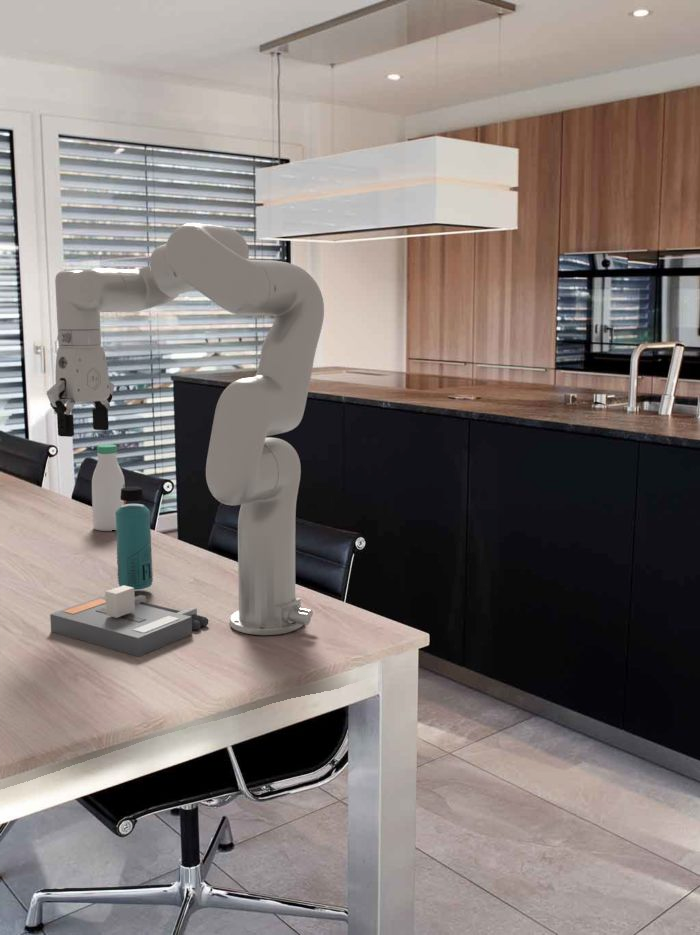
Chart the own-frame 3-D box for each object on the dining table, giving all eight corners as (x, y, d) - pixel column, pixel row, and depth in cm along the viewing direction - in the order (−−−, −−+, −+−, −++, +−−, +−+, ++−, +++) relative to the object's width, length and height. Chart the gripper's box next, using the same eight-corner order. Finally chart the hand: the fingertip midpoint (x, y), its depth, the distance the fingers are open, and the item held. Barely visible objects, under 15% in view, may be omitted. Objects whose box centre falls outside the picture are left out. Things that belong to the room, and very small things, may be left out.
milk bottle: (122, 532, 223) (119, 448, 220) (89, 531, 223) (85, 447, 220) (130, 524, 231) (127, 443, 227) (98, 524, 231) (95, 442, 227)
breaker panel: (192, 634, 155) (191, 616, 155) (138, 656, 145) (138, 637, 145) (106, 612, 166) (105, 595, 165) (51, 631, 156) (50, 613, 156)
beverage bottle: (145, 599, 173) (141, 491, 170) (111, 596, 175) (107, 490, 171) (159, 588, 180) (156, 485, 176) (126, 586, 181) (122, 483, 178)
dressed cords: (211, 625, 160) (211, 611, 159) (195, 632, 156) (195, 618, 156) (128, 604, 170) (127, 591, 170) (111, 610, 167) (110, 597, 166)
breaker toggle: (134, 611, 156) (134, 587, 155) (116, 617, 153) (115, 593, 152) (124, 608, 157) (123, 585, 157) (106, 615, 154) (105, 591, 153)
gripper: (63, 341, 164) (68, 440, 167) (125, 338, 179) (129, 428, 182) (29, 341, 167) (35, 437, 170) (94, 338, 182) (97, 426, 185)
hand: (83, 432), depth 176 cm, fingers open, 9 cm apart
